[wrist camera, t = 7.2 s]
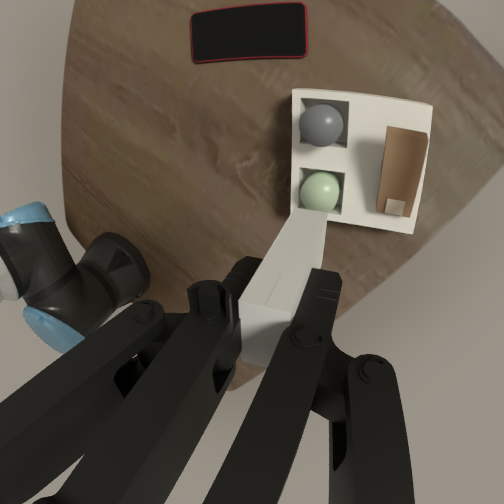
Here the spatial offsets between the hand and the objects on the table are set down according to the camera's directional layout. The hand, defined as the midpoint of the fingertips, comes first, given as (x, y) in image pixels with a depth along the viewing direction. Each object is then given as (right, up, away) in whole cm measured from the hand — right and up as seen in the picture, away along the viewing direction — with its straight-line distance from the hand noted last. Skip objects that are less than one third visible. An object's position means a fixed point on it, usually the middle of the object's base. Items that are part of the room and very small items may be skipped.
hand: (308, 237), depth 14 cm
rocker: (+12, +7, +14) cm, 20 cm away
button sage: (+6, +7, +23) cm, 25 cm away
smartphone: (-3, +26, +18) cm, 32 cm away
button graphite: (+5, +13, +17) cm, 23 cm away
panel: (+10, +11, +21) cm, 26 cm away
